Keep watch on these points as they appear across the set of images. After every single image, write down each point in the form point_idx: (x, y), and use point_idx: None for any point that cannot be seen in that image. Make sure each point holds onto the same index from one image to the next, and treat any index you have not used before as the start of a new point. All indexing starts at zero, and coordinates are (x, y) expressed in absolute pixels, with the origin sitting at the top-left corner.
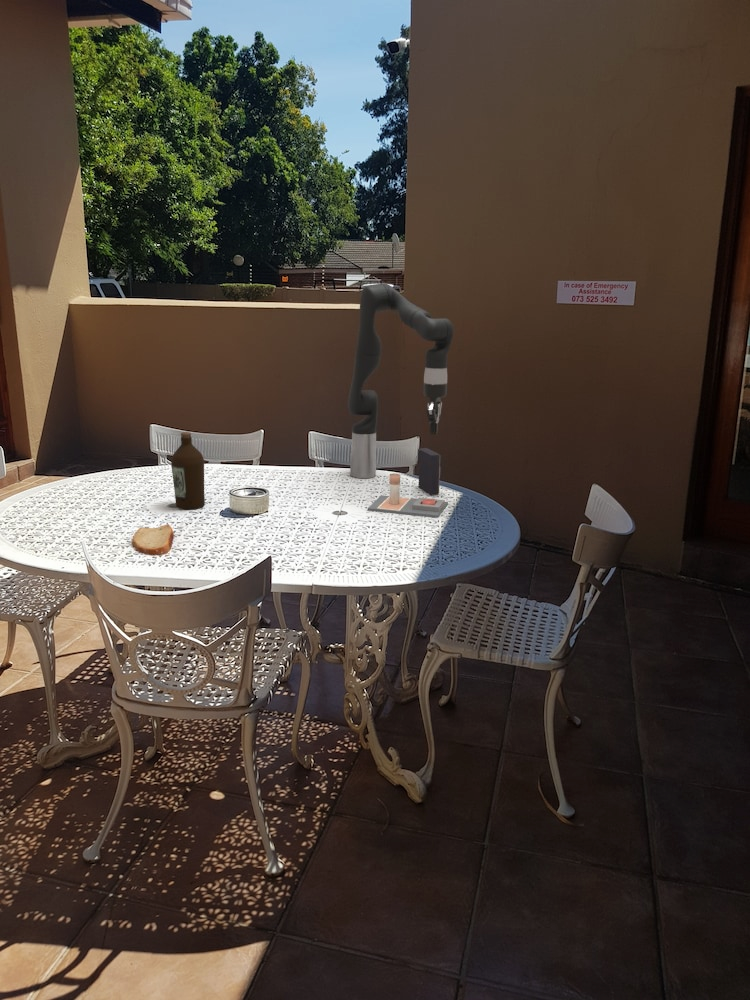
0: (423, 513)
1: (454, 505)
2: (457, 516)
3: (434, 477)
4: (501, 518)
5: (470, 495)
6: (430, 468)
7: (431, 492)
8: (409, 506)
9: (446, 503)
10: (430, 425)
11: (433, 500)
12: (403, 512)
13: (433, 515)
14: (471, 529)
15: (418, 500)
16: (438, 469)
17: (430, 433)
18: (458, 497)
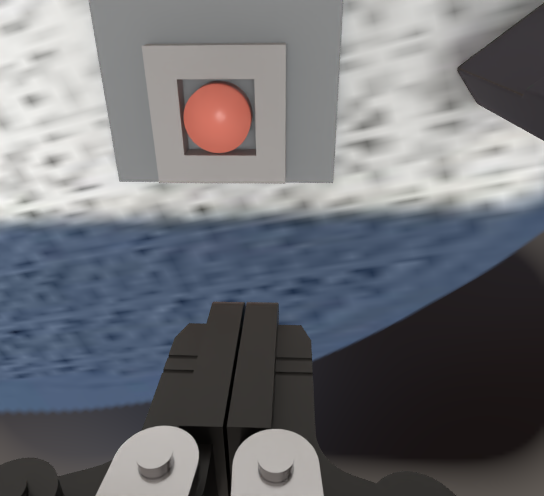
0: (115, 114)
1: (320, 208)
2: (177, 244)
3: (500, 100)
4: None
5: (493, 244)
6: (541, 76)
7: (461, 72)
8: (189, 14)
9: (304, 180)
10: (188, 392)
11: (237, 140)
12: (91, 8)
13: (116, 162)
14: (60, 309)
15: (230, 57)
16: (535, 134)
17: (215, 304)
18: (450, 202)
